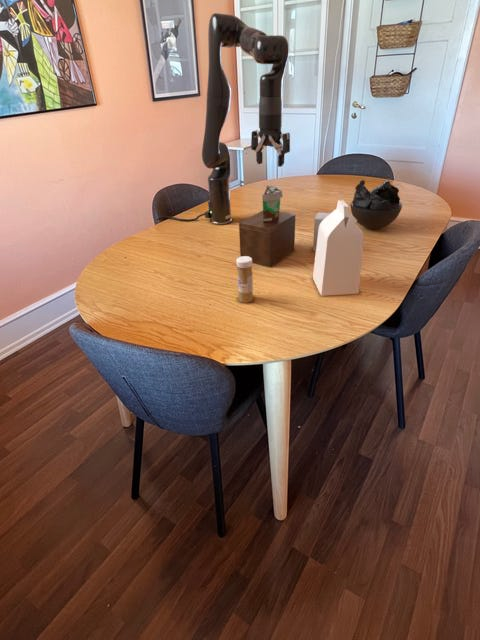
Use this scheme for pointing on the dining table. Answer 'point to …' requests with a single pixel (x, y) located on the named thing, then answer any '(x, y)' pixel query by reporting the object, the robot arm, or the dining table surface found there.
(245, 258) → the sprinkles bottle
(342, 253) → the milk
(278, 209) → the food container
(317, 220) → the white packaging box
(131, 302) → the dining table surface
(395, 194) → the bowl of black rocks
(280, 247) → the dark wooden box
